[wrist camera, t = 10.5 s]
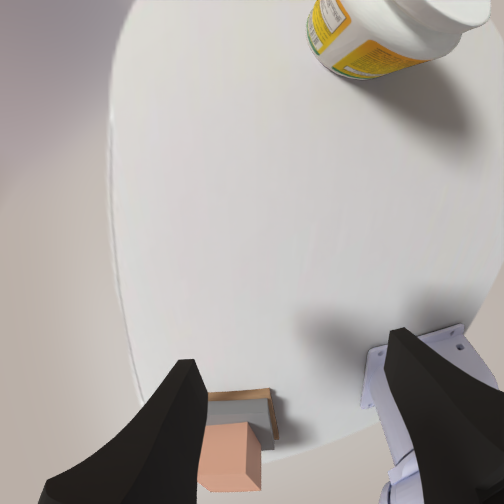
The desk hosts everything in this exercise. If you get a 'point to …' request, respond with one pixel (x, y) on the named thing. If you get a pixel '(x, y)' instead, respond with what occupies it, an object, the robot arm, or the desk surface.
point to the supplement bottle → (388, 32)
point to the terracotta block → (230, 459)
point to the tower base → (245, 396)
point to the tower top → (244, 417)
